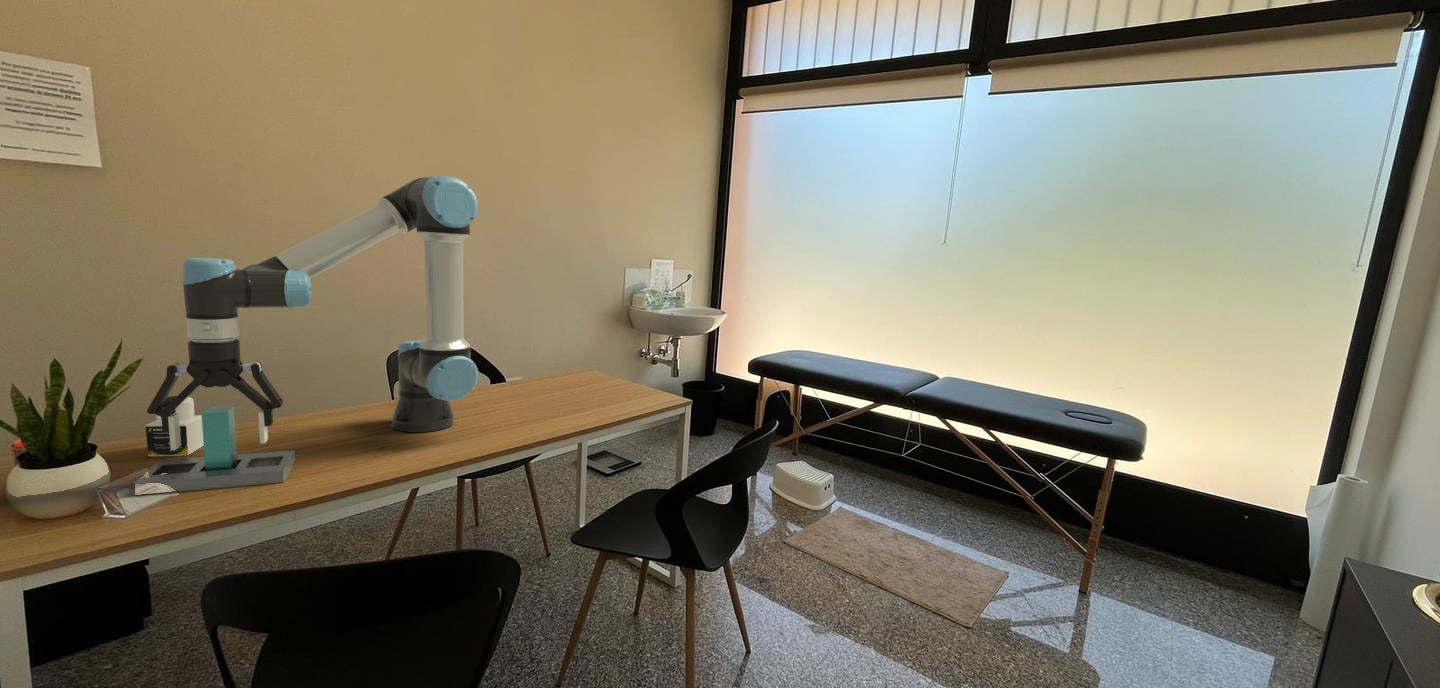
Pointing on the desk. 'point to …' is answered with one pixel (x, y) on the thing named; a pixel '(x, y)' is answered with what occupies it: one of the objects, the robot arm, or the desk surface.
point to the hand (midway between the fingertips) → (221, 444)
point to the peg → (219, 438)
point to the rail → (221, 472)
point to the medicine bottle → (188, 431)
